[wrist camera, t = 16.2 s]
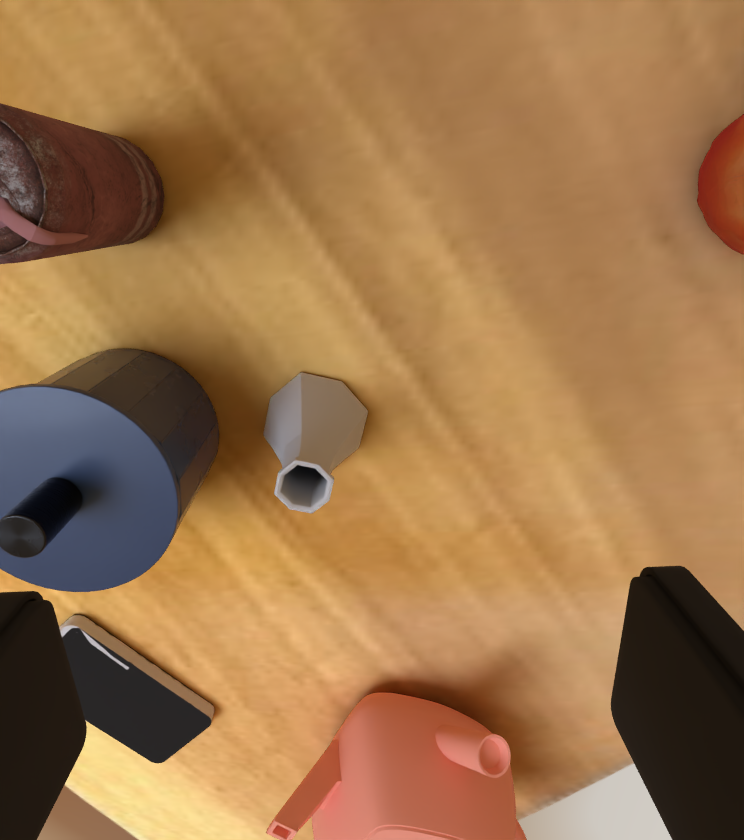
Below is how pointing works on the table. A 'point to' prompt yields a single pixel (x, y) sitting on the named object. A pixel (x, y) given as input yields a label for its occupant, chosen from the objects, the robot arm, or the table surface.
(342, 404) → the flask
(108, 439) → the pot lid
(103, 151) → the can
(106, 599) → the table surface
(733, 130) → the tomato
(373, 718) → the teapot
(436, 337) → the table surface
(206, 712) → the smartphone
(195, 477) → the pot
